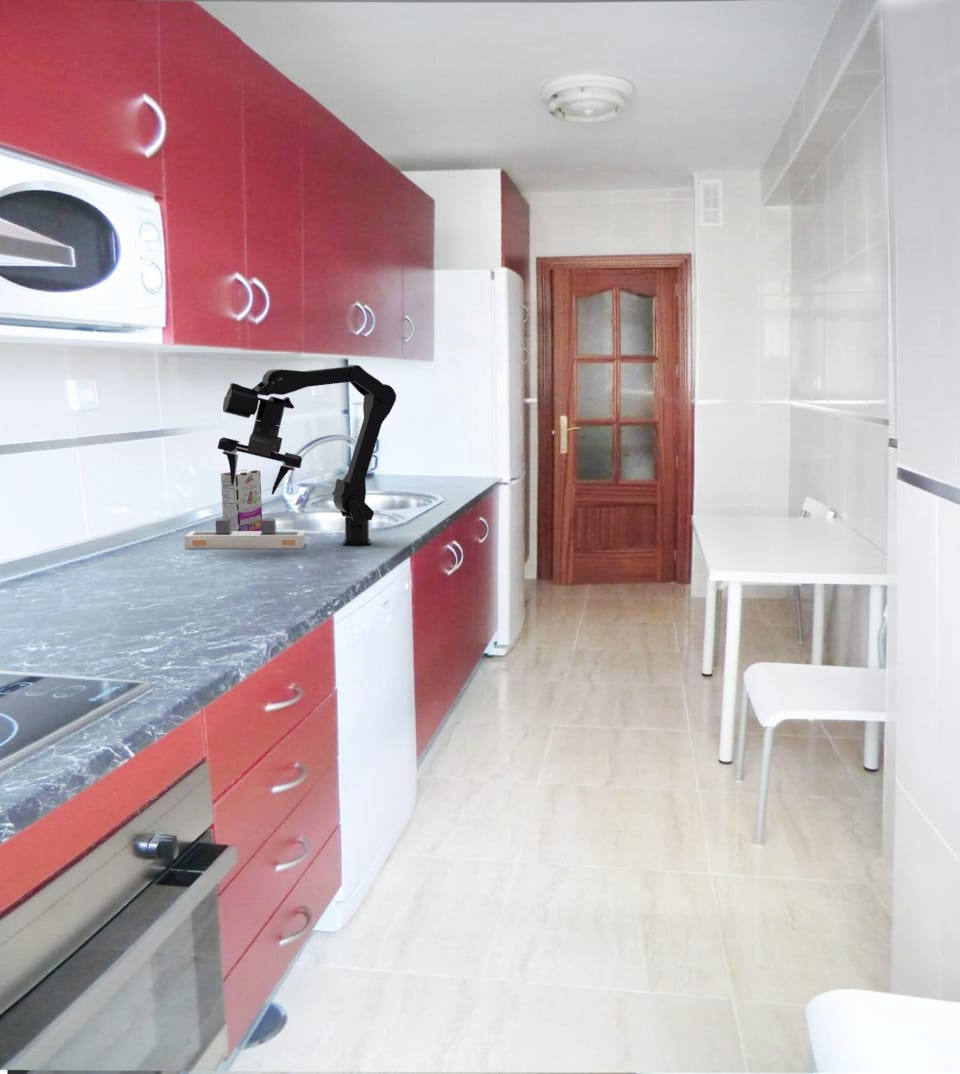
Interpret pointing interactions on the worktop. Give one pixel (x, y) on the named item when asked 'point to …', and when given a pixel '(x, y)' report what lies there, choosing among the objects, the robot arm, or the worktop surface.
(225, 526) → the outer tab
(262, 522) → the inner tab
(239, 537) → the switch bank
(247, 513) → the candy bar box
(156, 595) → the worktop surface
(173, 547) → the worktop surface
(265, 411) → the robot arm
